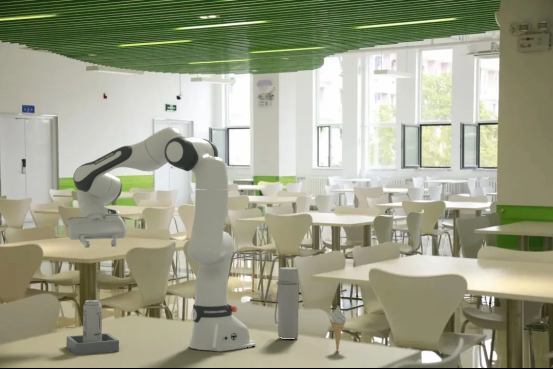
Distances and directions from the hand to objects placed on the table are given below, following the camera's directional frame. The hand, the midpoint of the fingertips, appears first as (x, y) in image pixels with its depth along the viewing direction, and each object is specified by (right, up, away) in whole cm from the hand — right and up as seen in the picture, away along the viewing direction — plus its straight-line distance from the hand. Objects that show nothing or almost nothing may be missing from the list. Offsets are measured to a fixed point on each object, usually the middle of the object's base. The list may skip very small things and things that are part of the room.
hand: (100, 246), depth 279 cm
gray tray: (+1, -33, -16) cm, 36 cm away
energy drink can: (+1, -32, -16) cm, 36 cm away
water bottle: (+65, -33, +5) cm, 73 cm away
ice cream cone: (+82, -34, -15) cm, 90 cm away
